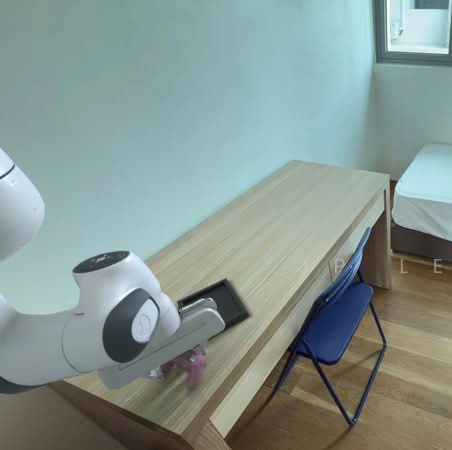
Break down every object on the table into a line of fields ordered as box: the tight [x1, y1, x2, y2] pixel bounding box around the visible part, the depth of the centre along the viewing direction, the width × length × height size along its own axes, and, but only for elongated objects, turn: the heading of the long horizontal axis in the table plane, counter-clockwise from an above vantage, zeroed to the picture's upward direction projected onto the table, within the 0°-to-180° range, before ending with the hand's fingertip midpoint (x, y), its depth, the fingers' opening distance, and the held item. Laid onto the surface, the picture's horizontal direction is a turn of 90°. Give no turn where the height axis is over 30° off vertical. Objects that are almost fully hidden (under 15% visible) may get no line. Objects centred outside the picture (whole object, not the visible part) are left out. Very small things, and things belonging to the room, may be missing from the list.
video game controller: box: [158, 348, 207, 392], centre depth 65 cm, size 10×5×7 cm, turn 71°
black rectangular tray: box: [176, 277, 250, 347], centre depth 80 cm, size 12×16×2 cm
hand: (183, 365), depth 65 cm, fingers closed on video game controller, 6 cm apart
